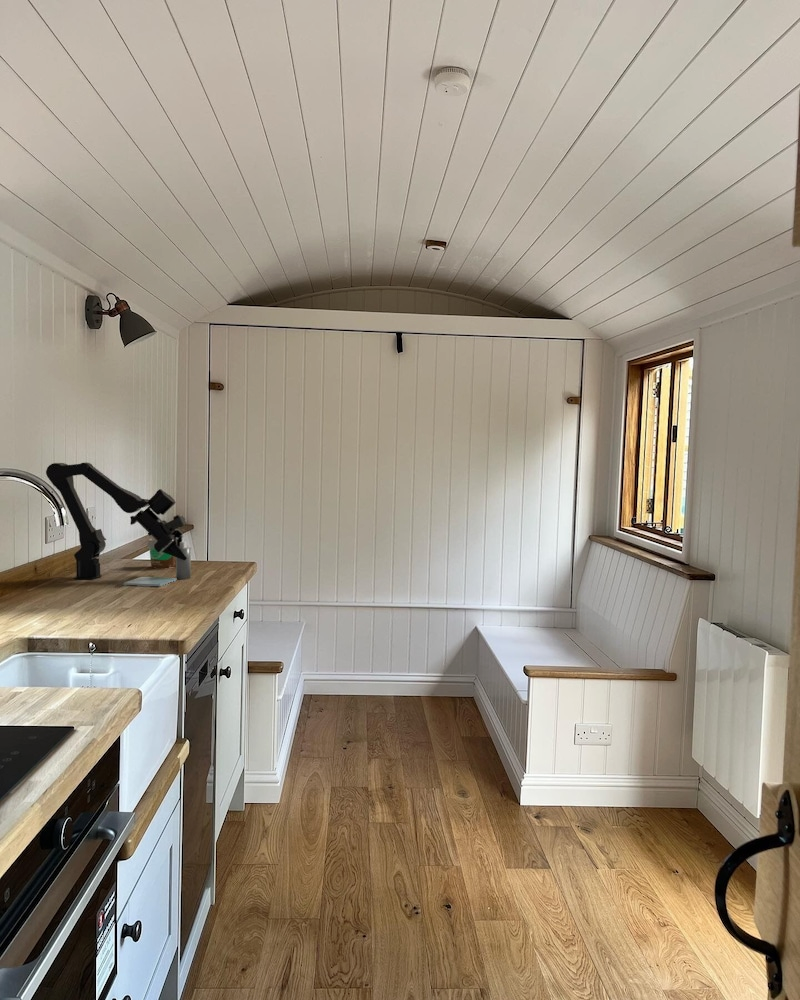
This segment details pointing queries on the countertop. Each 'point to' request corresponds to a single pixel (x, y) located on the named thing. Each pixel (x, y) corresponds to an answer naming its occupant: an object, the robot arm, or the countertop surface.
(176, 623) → the countertop surface
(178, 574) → the grey tall rounded piece
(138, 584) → the coaster
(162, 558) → the food container
